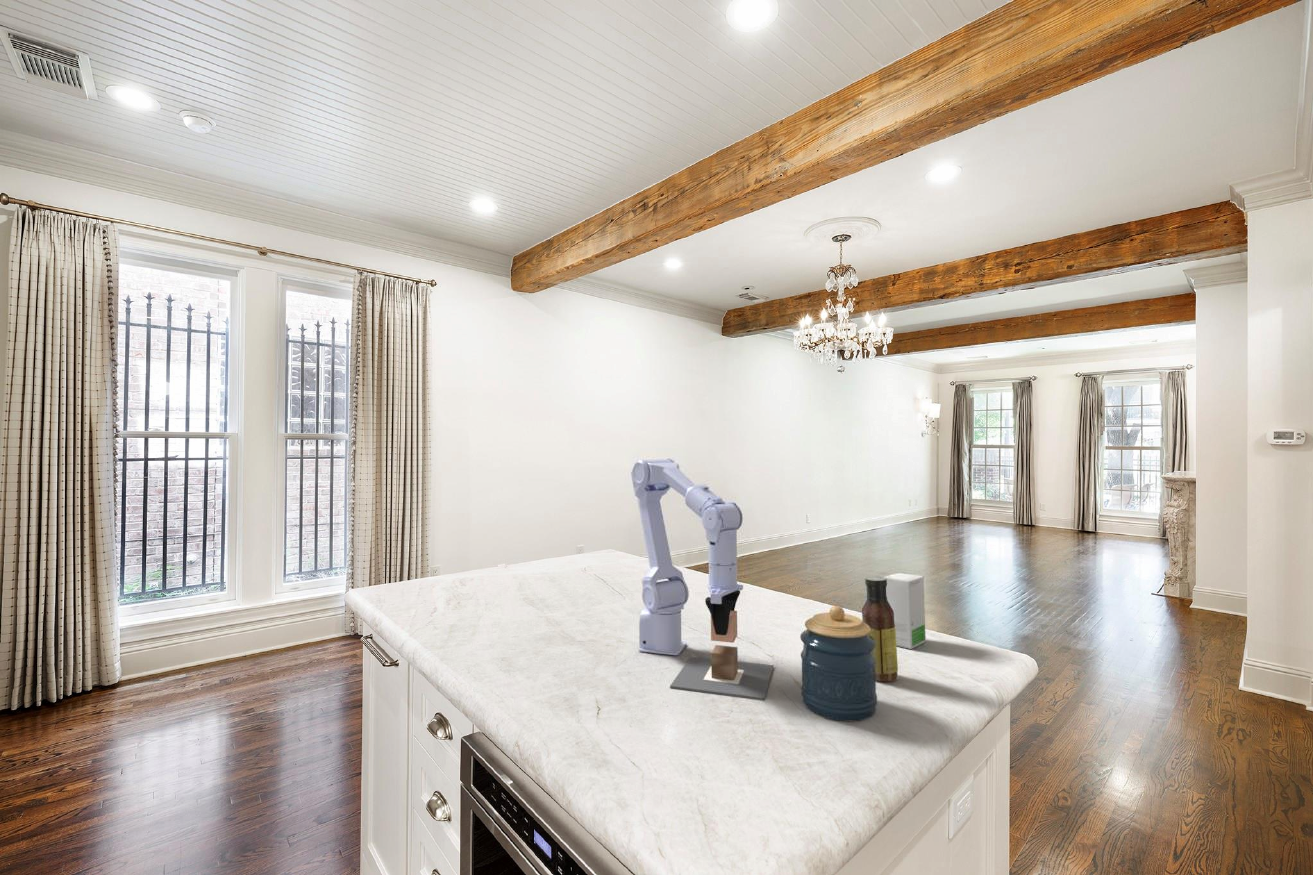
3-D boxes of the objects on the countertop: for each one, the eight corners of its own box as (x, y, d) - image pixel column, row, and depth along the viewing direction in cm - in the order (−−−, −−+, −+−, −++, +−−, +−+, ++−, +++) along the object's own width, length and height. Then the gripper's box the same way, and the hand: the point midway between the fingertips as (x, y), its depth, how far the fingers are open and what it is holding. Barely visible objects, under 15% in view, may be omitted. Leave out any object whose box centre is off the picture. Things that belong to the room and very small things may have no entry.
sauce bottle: (896, 673, 113) (894, 575, 113) (899, 685, 107) (897, 582, 107) (862, 669, 115) (860, 573, 115) (863, 681, 109) (861, 580, 110)
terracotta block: (711, 640, 110) (710, 615, 111) (715, 633, 115) (715, 609, 115) (733, 642, 109) (733, 617, 109) (737, 635, 113) (737, 610, 113)
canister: (869, 730, 90) (867, 621, 91) (791, 711, 97) (790, 610, 98) (883, 699, 101) (881, 602, 102) (813, 684, 108) (811, 593, 109)
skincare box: (911, 650, 125) (909, 581, 126) (882, 642, 130) (881, 576, 131) (926, 641, 131) (925, 575, 131) (899, 634, 136) (898, 571, 136)
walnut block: (711, 677, 110) (711, 652, 110) (716, 669, 115) (715, 644, 115) (734, 680, 109) (733, 654, 109) (737, 671, 113) (737, 647, 113)
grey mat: (670, 687, 107) (670, 685, 107) (690, 657, 122) (690, 655, 122) (764, 700, 101) (764, 697, 101) (773, 667, 117) (773, 664, 117)
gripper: (736, 571, 104) (737, 644, 104) (747, 557, 118) (748, 621, 118) (699, 569, 106) (700, 640, 106) (715, 555, 120) (716, 618, 120)
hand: (723, 630), depth 112 cm, fingers closed on terracotta block, 4 cm apart
